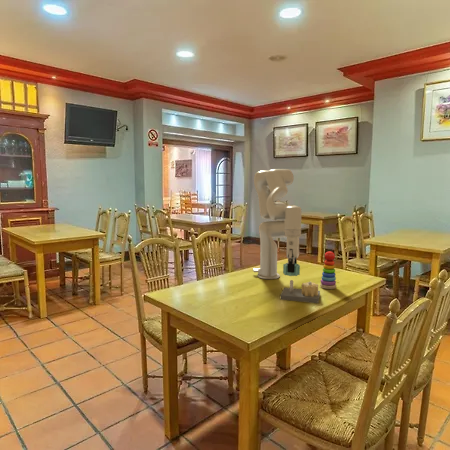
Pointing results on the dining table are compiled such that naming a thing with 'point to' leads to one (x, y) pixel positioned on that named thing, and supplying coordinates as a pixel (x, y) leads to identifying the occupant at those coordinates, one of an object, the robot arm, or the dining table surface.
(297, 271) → the teal gear
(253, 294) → the dining table surface
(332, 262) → the stacking toy
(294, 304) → the dining table surface
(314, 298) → the gear board
